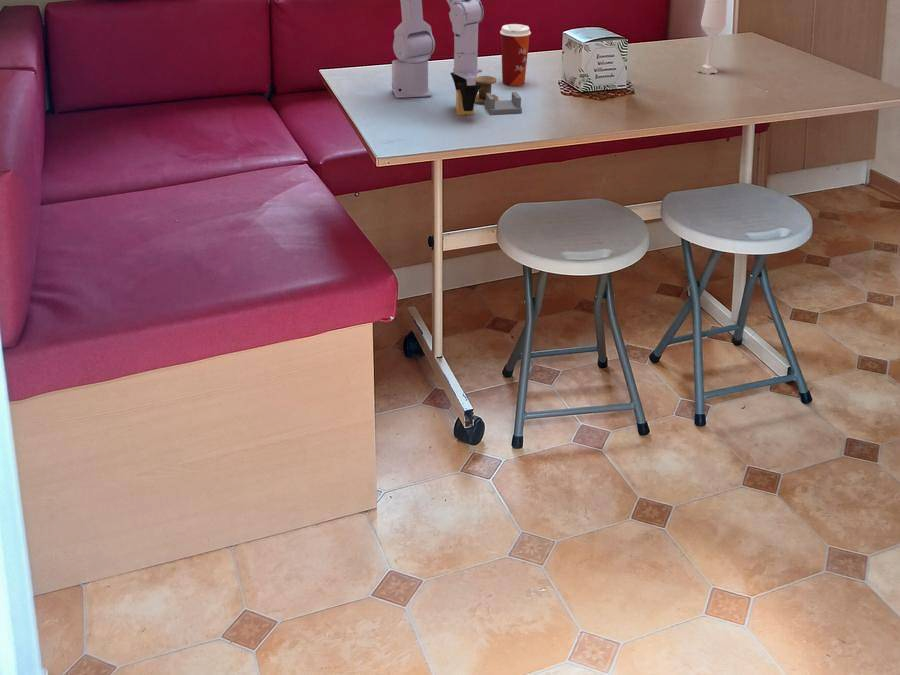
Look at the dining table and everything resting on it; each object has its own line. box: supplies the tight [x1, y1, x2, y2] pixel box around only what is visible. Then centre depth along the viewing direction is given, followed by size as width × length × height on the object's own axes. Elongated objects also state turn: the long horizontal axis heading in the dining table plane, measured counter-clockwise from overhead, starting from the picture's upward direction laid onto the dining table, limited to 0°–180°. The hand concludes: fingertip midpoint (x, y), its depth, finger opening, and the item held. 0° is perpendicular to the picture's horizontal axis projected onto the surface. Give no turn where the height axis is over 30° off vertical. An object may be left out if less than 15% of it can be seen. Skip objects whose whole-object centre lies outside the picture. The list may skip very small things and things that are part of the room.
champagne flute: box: [700, 0, 728, 68], centre depth 288 cm, size 7×7×24 cm
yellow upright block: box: [455, 89, 475, 116], centre depth 258 cm, size 4×3×6 cm
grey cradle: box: [484, 91, 523, 116], centre depth 261 cm, size 8×7×4 cm
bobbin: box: [474, 75, 499, 106], centre depth 267 cm, size 7×7×6 cm
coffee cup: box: [499, 23, 532, 87], centre depth 278 cm, size 8×8×15 cm
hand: (465, 105), depth 259 cm, fingers open, 7 cm apart
